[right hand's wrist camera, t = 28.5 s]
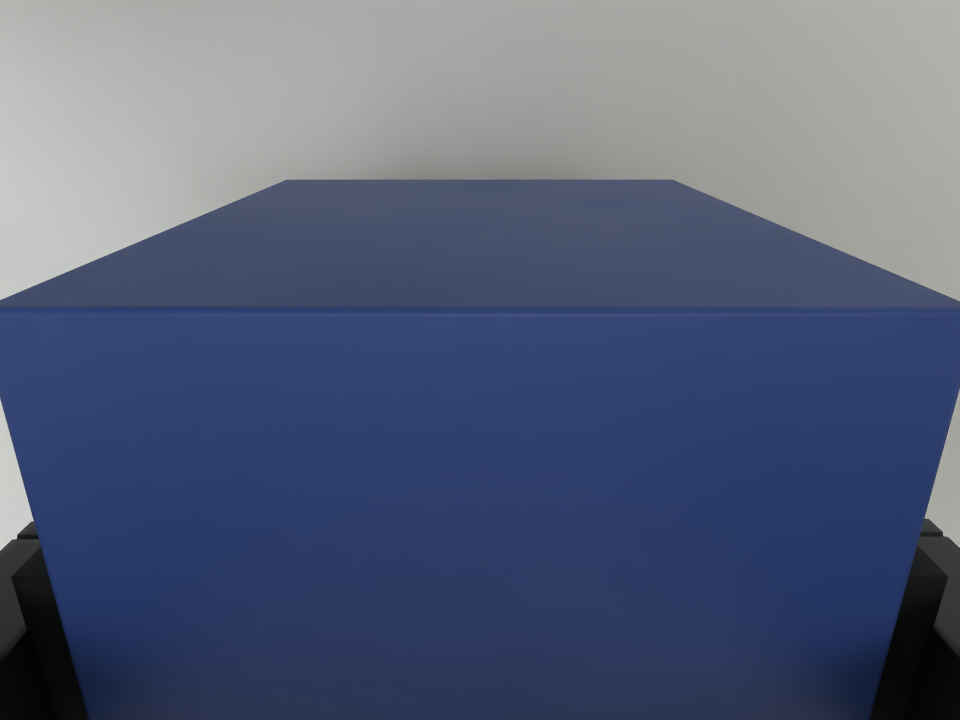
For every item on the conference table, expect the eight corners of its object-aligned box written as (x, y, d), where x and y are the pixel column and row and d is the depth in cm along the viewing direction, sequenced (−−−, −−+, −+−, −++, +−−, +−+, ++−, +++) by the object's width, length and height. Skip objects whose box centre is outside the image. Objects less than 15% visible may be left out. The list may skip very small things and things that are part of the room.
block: (674, 179, 15) (986, 309, 6) (640, 526, 18) (805, 967, 9) (284, 179, 15) (-28, 308, 6) (318, 527, 18) (153, 967, 9)
